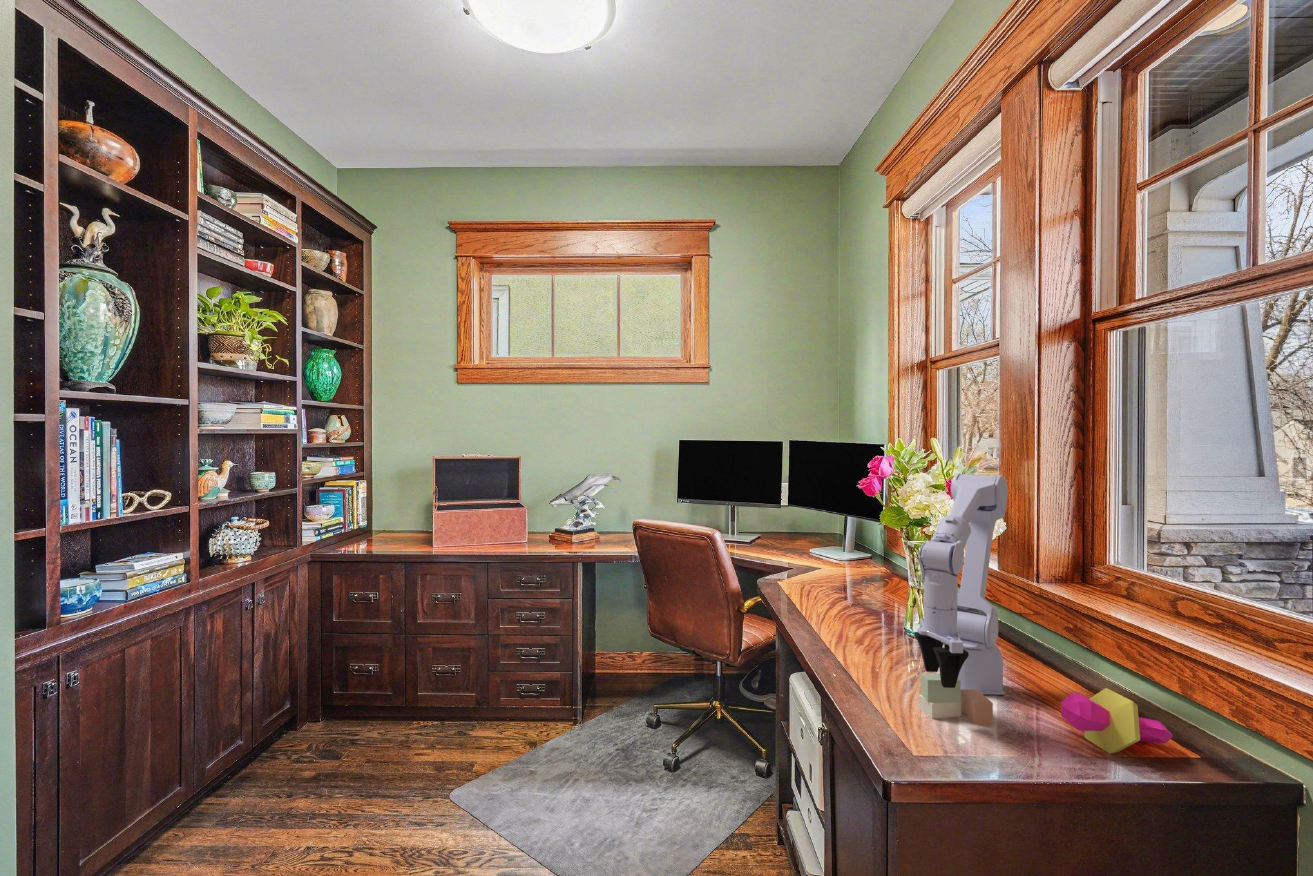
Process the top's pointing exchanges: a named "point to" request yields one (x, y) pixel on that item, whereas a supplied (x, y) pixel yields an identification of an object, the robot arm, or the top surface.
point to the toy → (1111, 721)
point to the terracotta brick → (976, 707)
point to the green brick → (939, 689)
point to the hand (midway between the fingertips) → (939, 679)
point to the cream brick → (939, 708)
